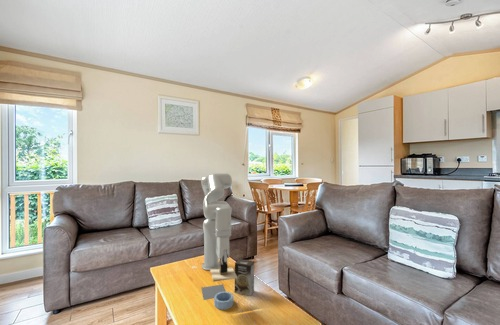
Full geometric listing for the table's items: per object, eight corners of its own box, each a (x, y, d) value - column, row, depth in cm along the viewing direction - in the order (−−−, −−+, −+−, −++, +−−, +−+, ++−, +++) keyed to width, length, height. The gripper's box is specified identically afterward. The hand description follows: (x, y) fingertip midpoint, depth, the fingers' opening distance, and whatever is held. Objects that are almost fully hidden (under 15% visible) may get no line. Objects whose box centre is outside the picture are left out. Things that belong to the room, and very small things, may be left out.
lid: (210, 271, 118) (210, 257, 118) (231, 268, 121) (232, 255, 121) (213, 281, 107) (213, 266, 107) (237, 278, 110) (237, 263, 110)
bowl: (213, 301, 117) (213, 293, 117) (230, 298, 119) (230, 290, 119) (215, 312, 108) (215, 303, 108) (235, 308, 111) (235, 300, 111)
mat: (201, 288, 128) (201, 287, 128) (223, 285, 132) (223, 284, 132) (203, 301, 117) (203, 299, 117) (227, 297, 120) (227, 295, 120)
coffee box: (234, 293, 123) (234, 263, 123) (238, 287, 130) (238, 258, 130) (250, 297, 120) (250, 265, 120) (254, 290, 126) (254, 260, 126)
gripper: (213, 228, 121) (213, 264, 121) (218, 238, 105) (218, 279, 105) (227, 227, 123) (227, 262, 123) (234, 236, 107) (234, 277, 107)
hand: (223, 270), depth 114 cm, fingers closed on lid, 3 cm apart
